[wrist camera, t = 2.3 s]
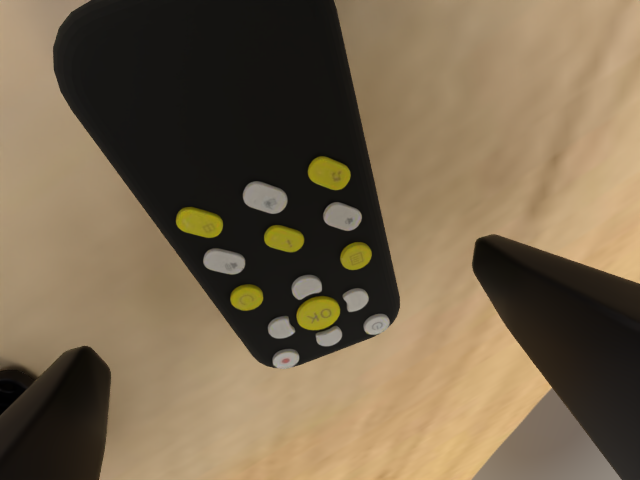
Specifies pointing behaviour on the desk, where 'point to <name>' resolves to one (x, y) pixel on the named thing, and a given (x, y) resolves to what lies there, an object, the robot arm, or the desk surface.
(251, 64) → the remote control
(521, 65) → the desk surface
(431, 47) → the desk surface
